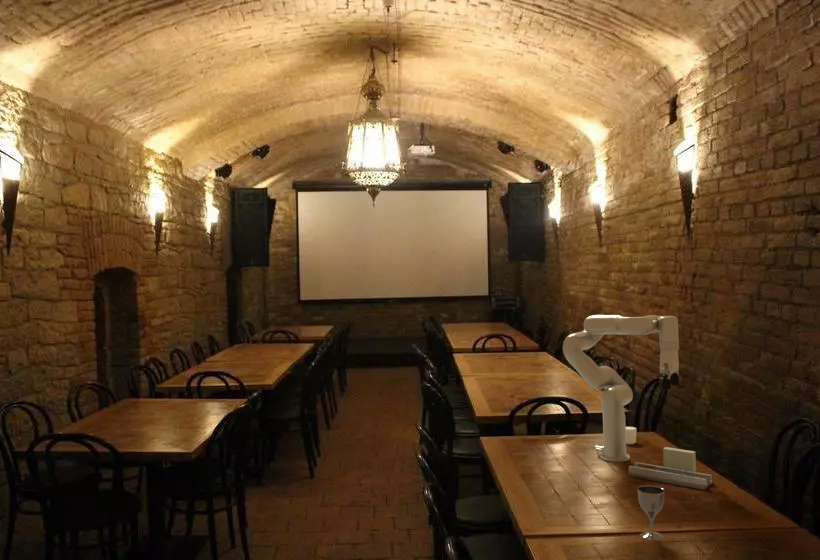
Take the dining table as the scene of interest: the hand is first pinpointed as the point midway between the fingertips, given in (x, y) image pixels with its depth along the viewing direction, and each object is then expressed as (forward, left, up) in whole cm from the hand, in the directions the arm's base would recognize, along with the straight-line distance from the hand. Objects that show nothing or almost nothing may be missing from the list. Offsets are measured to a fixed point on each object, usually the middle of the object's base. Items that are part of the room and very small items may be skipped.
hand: (670, 386), depth 283 cm
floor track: (+4, -15, -34) cm, 37 cm away
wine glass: (+19, -73, -34) cm, 83 cm away
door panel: (+4, -3, -34) cm, 35 cm away
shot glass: (-30, +28, -34) cm, 54 cm away
